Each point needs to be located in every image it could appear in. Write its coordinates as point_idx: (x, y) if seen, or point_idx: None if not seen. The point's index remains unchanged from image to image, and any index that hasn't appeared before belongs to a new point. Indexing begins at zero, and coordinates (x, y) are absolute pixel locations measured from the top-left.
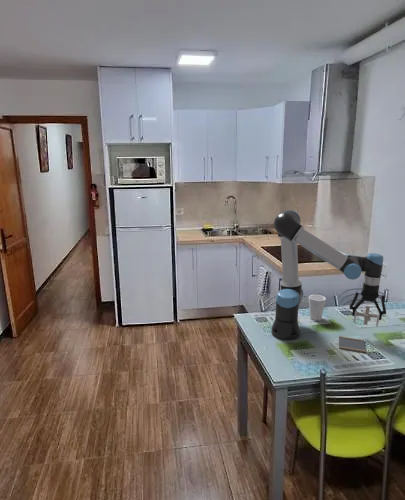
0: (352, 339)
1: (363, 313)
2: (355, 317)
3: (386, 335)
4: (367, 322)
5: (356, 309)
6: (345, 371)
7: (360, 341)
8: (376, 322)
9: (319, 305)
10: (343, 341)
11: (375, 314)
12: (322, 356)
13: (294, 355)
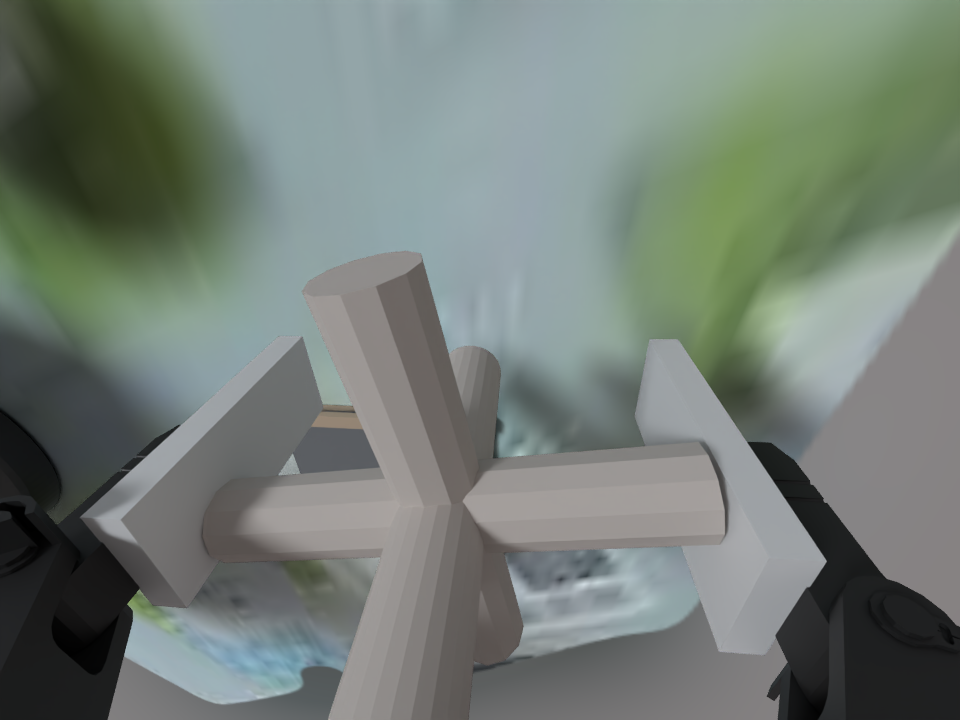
0: None
1: (357, 554)
2: (269, 474)
3: (799, 168)
4: (497, 398)
5: (119, 524)
6: None
7: None
8: (654, 423)
9: None
10: (330, 470)
11: (669, 540)
12: (278, 602)
13: (169, 610)
